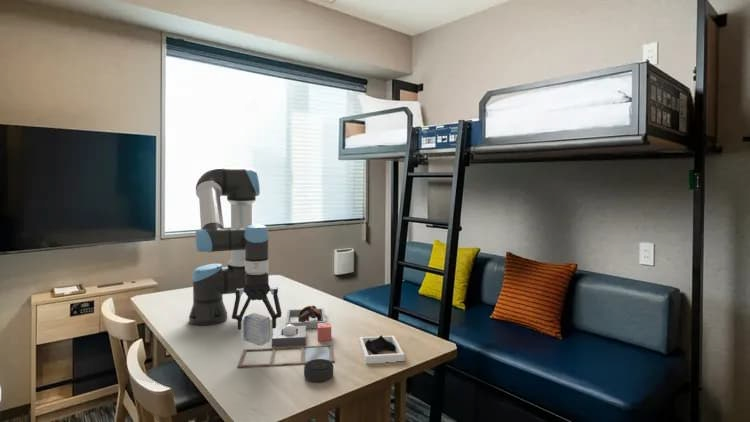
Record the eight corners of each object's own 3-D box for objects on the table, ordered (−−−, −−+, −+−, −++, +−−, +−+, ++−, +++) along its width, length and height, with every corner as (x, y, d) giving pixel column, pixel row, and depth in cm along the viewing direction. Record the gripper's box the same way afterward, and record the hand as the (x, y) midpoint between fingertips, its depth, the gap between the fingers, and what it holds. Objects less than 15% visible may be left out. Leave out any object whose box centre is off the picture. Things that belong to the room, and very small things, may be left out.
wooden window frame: (237, 368, 134) (237, 366, 133) (243, 350, 147) (243, 349, 147) (334, 362, 139) (334, 361, 138) (332, 345, 152) (332, 344, 152)
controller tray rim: (365, 363, 138) (365, 356, 137) (359, 343, 154) (359, 337, 154) (404, 361, 140) (404, 354, 140) (393, 342, 157) (393, 335, 156)
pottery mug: (323, 328, 172) (313, 312, 169) (303, 337, 173) (292, 321, 171) (326, 312, 183) (317, 297, 181) (307, 320, 184) (298, 305, 182)
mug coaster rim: (285, 329, 168) (285, 323, 168) (287, 315, 186) (287, 309, 186) (325, 327, 171) (325, 321, 171) (323, 313, 188) (323, 308, 188)
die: (317, 340, 157) (317, 326, 156) (317, 335, 162) (317, 321, 161) (331, 340, 158) (331, 325, 157) (330, 335, 163) (330, 321, 162)
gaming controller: (391, 355, 151) (380, 339, 154) (397, 347, 149) (386, 331, 152) (370, 363, 143) (359, 346, 146) (377, 355, 141) (365, 338, 144)
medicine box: (270, 342, 141) (270, 317, 140) (260, 346, 137) (260, 320, 137) (254, 336, 145) (254, 312, 145) (244, 340, 142) (243, 316, 141)
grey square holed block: (271, 346, 151) (271, 338, 151) (274, 334, 163) (274, 326, 162) (305, 345, 153) (305, 337, 153) (305, 333, 165) (305, 325, 164)
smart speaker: (311, 368, 134) (311, 356, 134) (337, 372, 132) (337, 360, 131) (299, 381, 126) (299, 368, 126) (326, 385, 123) (326, 372, 123)
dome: (282, 341, 155) (282, 327, 154) (283, 336, 160) (283, 322, 159) (296, 341, 156) (296, 326, 155) (296, 336, 161) (296, 322, 160)
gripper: (220, 275, 134) (221, 343, 136) (289, 274, 137) (289, 340, 139) (225, 270, 141) (226, 335, 143) (290, 268, 145) (289, 332, 147)
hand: (257, 337), depth 141 cm, fingers closed on medicine box, 9 cm apart
